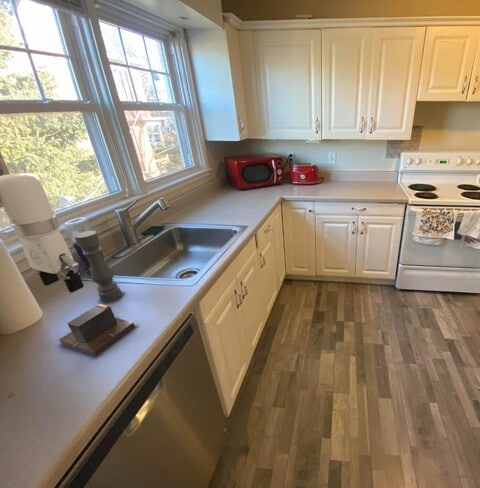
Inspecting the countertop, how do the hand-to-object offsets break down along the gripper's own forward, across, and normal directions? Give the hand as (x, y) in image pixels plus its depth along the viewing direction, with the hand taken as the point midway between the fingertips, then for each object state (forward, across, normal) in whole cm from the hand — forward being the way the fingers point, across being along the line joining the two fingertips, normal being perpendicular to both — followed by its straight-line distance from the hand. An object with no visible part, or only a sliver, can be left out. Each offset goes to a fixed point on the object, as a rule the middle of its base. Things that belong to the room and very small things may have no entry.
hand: (64, 286), depth 75 cm
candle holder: (+19, -13, +17) cm, 28 cm away
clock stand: (+18, +2, +2) cm, 19 cm away
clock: (+16, +2, +2) cm, 17 cm away
